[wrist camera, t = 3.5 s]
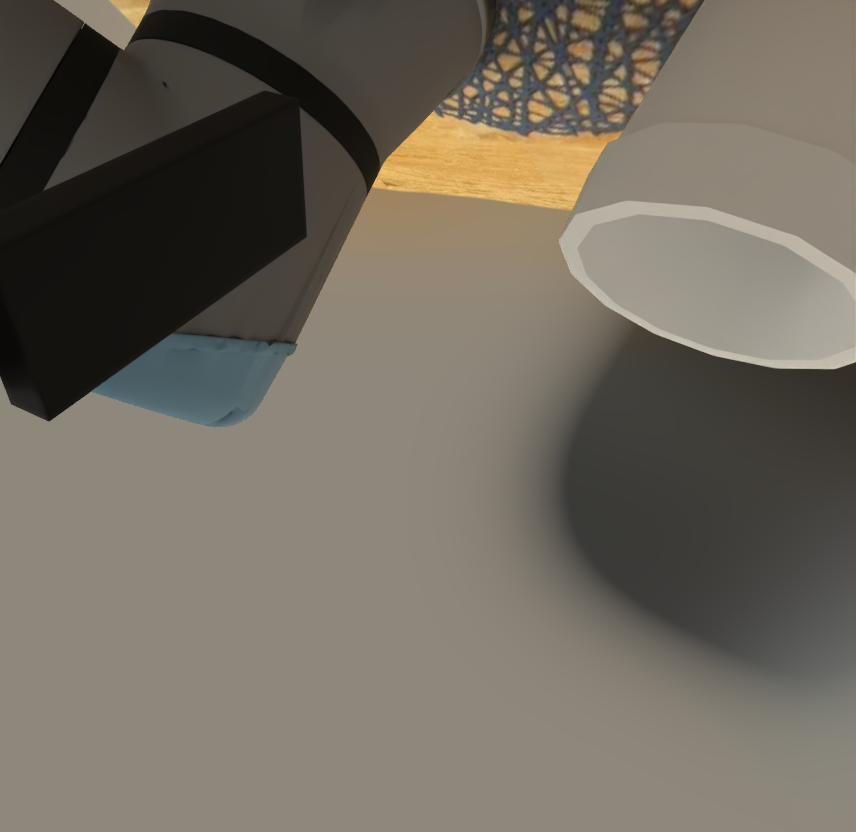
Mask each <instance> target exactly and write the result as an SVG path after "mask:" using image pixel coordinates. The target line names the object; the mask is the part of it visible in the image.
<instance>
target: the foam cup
mask: <svg viewBox="0 0 856 832" xmlns="http://www.w3.org/2000/svg"><path fill="white" fill-rule="evenodd" d="M559 244H560V247H561V249H562V252H563V255H564V257H565V260H566V262H567V265H568V268H569V270H570V273H571V274H572V275H573V276H574V277H575V278H576V279H577V280H578V281H579V282H580V283H581V284H582V285H584V286H585V287H586V288H587V289H588V290H589V291H590V292H591V293H592V294H593V295H594V296H595V297H597V298H598V299H599V300H600V301H601V302H602V303H603V304H604V305H605V306H607V307H609V308H610V309H612V310H614V311H616V312H617V313H619V314H621V315H623V316H625V317H626V318H628V319H630V320H631V321H633V322H635V323H637V324H638V325H640V326H642V327H644V328H645V329H647V330H649V331H651V332H652V333H655V334H657V335H659V336H662V337H665V338H667V339H670V340H673V341H675V342H678V343H681V344H684V345H686V346H689V347H692V348H694V349H697V350H700V351H703V352H705V353H708V354H711V355H714V356H718V357H723V358H728V359H733V360H738V361H743V362H748V363H753V364H757V365H762V366H767V367H772V368H798V369H803V368H804V369H836V368H839V367H842V366H845V365H848V364H851V363H854V362H856V0H704V2H703V3H702V5H701V7H700V8H699V10H698V11H697V13H696V15H695V16H694V18H693V19H692V21H691V23H690V24H689V26H688V27H687V29H686V31H685V32H684V34H683V35H682V37H681V39H680V40H679V42H678V44H677V45H676V47H675V48H674V50H673V52H672V53H671V55H670V56H669V58H668V60H667V61H666V63H665V64H664V66H663V68H662V69H661V71H660V72H659V74H658V76H657V77H656V79H655V81H654V82H653V84H652V85H651V87H650V89H649V90H648V92H647V93H646V95H645V97H644V98H643V100H642V101H641V103H640V105H639V106H638V108H637V110H636V111H635V113H634V114H633V116H632V118H631V119H630V121H629V122H628V124H627V126H626V127H625V129H624V130H623V132H622V134H621V135H620V137H619V138H618V139H617V140H614V141H612V142H609V143H607V145H606V147H605V148H604V150H603V152H602V153H601V155H600V157H599V158H598V160H597V162H596V163H595V165H594V167H593V168H592V170H591V172H590V174H589V175H588V177H587V179H586V182H585V184H584V186H583V188H582V190H581V193H580V195H579V197H578V199H577V202H576V204H575V206H574V208H573V210H572V213H571V215H570V217H569V220H568V221H567V224H566V226H565V228H564V230H563V232H562V235H561V237H560V240H559Z"/></svg>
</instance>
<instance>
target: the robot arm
mask: <svg viewBox="0 0 856 832" xmlns="http://www.w3.org/2000/svg"><path fill="white" fill-rule="evenodd" d="M494 19H495V0H151V1H150V4H149V7H148V9H147V11H146V13H145V15H144V17H143V19H142V21H141V22H140V24H139V26H138V28H137V29H136V31H135V33H134V35H133V36H132V38H131V40H130V42H129V44H128V45H127V47H126V48H125V50H122V49H121V48H119V47H117V46H116V45H115V44H113V43H112V42H111V41H109V40H107V39H106V38H105V37H103V36H102V35H101V34H99V33H98V32H96V31H95V30H94V29H92V28H91V27H89V26H88V25H87V24H84V22H83V21H82V20H81V19H79V18H78V17H76V16H75V15H73V14H72V13H71V12H69V11H68V10H66V9H65V8H64V7H62V6H61V5H60V4H58V3H57V2H55V1H54V0H0V377H1V379H2V382H3V384H4V387H5V389H6V392H7V394H8V397H9V400H10V402H11V404H12V405H14V406H16V407H18V408H21V409H23V410H25V411H27V412H29V413H32V414H34V415H36V416H38V417H40V418H42V419H45V420H47V421H50V420H52V419H53V418H55V417H56V416H57V415H59V414H60V413H62V412H63V411H64V410H66V409H67V408H69V407H70V406H71V405H73V404H74V403H75V402H77V401H78V400H80V399H81V398H83V397H84V396H85V395H87V394H88V393H89V392H94V393H97V394H100V395H104V396H107V397H110V398H113V399H116V400H119V401H122V402H126V403H129V404H132V405H136V406H139V407H142V408H145V409H148V410H152V411H155V412H158V413H162V414H165V415H168V416H172V417H175V418H179V419H183V420H186V421H189V422H193V423H197V424H201V425H205V426H211V427H227V426H232V425H235V424H238V423H240V422H242V421H243V420H245V419H247V418H248V417H249V416H250V415H252V414H253V413H254V411H255V410H256V409H257V408H258V406H259V404H260V403H261V402H262V400H263V398H264V396H265V394H266V393H267V391H268V389H269V387H270V386H271V384H272V382H273V380H274V379H275V377H276V375H277V373H278V371H279V370H280V368H281V366H282V364H283V363H284V361H285V359H286V357H287V356H289V355H291V354H293V353H294V352H295V350H296V346H297V344H295V342H296V340H297V338H298V336H299V334H300V332H301V330H302V328H303V326H304V324H305V322H306V320H307V318H308V316H309V314H310V311H311V310H312V308H313V306H314V304H315V302H316V299H317V297H318V295H319V293H320V291H321V289H322V287H323V285H324V283H325V281H326V279H327V277H328V275H329V273H330V271H331V269H332V267H333V264H334V262H335V260H336V259H337V257H338V254H339V252H340V250H341V248H342V246H343V244H344V242H345V240H346V238H347V236H348V234H349V232H350V230H351V228H352V226H353V224H354V222H355V220H356V218H357V216H358V214H359V211H360V209H361V207H362V205H363V203H364V201H365V199H366V197H367V195H368V193H369V191H370V189H371V187H372V185H373V183H374V181H375V179H376V177H377V175H378V173H379V171H380V169H381V167H382V165H383V163H384V162H385V160H386V159H387V158H388V156H389V155H390V154H391V153H392V152H393V151H394V150H395V149H396V148H397V147H398V146H399V145H400V144H401V143H402V142H403V141H404V140H405V139H406V138H407V137H408V136H409V135H410V134H411V133H412V132H413V131H414V130H415V129H416V128H417V127H418V126H419V125H420V124H421V123H422V122H423V121H424V120H425V119H426V118H427V117H428V116H429V115H430V114H431V113H432V112H433V110H434V109H435V108H436V107H437V106H438V105H439V104H440V103H441V102H442V101H443V100H444V99H446V98H447V97H448V96H449V95H451V94H452V93H453V92H454V91H456V90H457V89H458V88H459V87H460V86H461V85H462V84H463V82H464V81H465V80H466V78H467V77H468V75H469V74H470V73H471V71H472V70H473V69H474V67H475V66H476V64H477V62H478V60H479V58H480V56H481V54H482V52H483V50H484V48H485V45H486V43H487V41H488V39H489V37H490V35H491V32H492V29H493V25H494ZM83 24H84V26H83ZM82 26H83V28H82ZM81 28H82V29H81Z"/></svg>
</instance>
